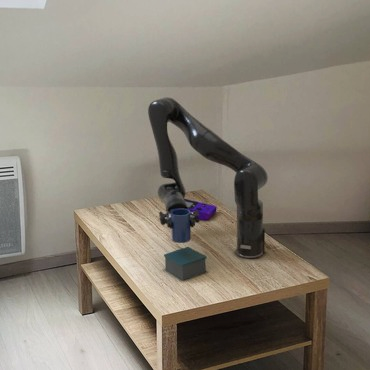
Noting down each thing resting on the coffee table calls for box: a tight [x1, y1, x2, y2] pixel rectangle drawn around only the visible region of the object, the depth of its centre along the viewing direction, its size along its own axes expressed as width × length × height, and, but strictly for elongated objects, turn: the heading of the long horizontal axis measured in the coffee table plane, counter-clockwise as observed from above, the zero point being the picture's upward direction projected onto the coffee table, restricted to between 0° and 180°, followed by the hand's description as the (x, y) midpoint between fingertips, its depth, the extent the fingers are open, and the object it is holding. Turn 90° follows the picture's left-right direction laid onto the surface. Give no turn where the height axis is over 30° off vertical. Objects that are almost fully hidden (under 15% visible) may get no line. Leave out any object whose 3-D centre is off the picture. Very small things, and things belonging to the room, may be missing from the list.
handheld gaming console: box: [184, 198, 218, 221], centre depth 291 cm, size 9×5×15 cm
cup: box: [170, 209, 192, 244], centre depth 238 cm, size 7×7×10 cm
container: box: [163, 246, 208, 281], centre depth 242 cm, size 11×11×6 cm
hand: (181, 225), depth 235 cm, fingers closed on cup, 6 cm apart
